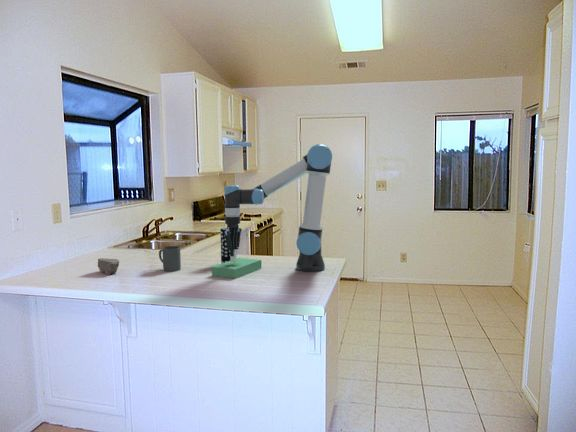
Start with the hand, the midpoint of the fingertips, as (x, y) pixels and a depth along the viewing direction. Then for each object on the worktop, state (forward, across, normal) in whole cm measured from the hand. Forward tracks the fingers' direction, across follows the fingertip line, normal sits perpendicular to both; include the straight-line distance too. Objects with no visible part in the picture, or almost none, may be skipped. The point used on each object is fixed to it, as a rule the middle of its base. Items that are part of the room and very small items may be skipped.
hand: (233, 262), depth 233 cm
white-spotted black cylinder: (+6, -17, -15) cm, 24 cm away
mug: (+6, +7, -37) cm, 38 cm away
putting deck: (+6, -3, 0) cm, 7 cm away
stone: (+6, +27, -60) cm, 66 cm away
